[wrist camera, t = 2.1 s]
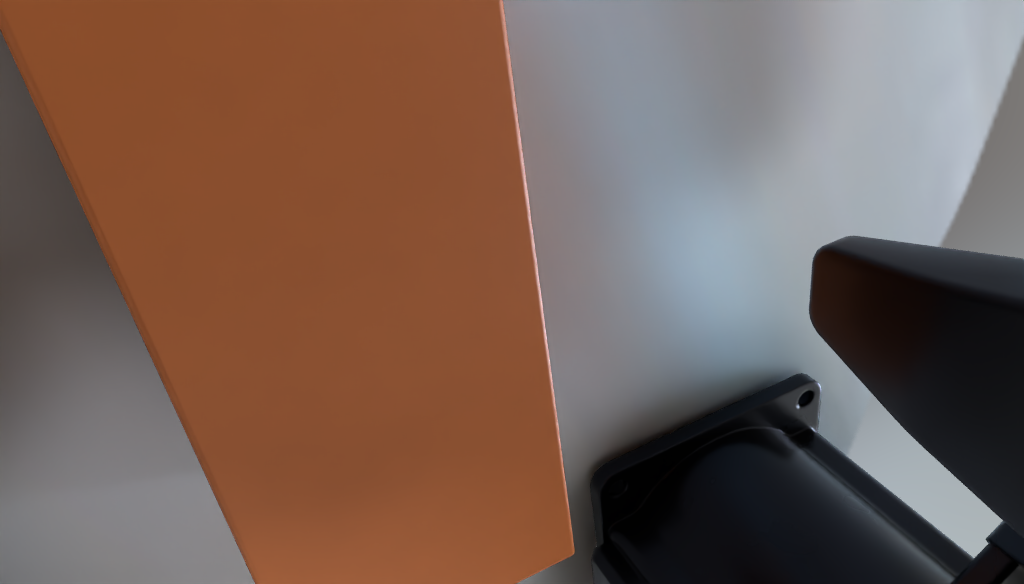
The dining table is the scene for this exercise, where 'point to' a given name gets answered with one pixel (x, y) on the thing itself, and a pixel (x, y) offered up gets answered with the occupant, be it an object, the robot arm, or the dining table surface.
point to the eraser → (323, 268)
